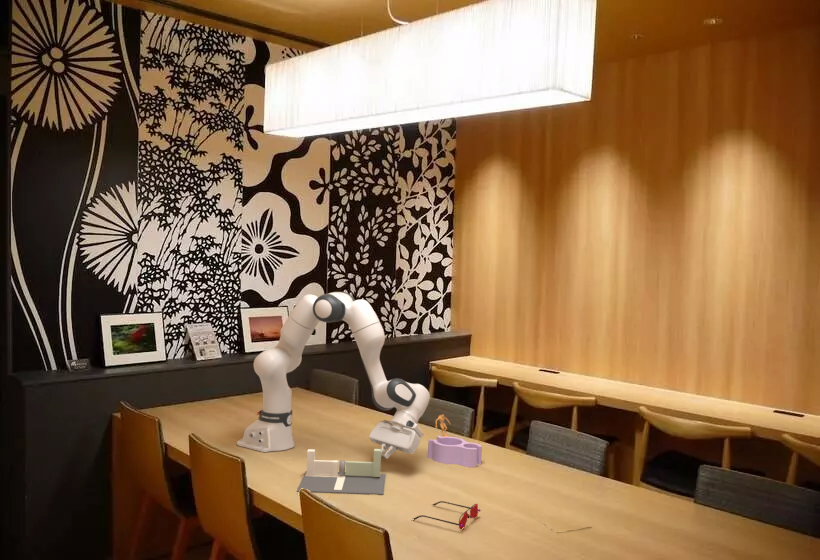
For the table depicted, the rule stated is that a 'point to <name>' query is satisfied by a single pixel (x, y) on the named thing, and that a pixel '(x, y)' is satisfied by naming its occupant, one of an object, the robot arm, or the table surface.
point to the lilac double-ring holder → (454, 451)
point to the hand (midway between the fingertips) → (383, 456)
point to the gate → (362, 466)
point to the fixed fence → (320, 465)
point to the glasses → (463, 521)
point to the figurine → (442, 425)
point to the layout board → (343, 484)
